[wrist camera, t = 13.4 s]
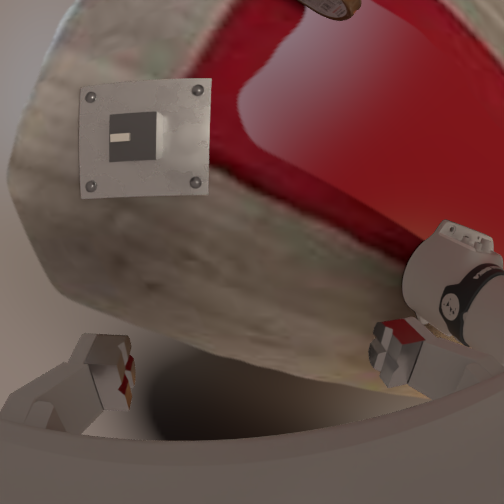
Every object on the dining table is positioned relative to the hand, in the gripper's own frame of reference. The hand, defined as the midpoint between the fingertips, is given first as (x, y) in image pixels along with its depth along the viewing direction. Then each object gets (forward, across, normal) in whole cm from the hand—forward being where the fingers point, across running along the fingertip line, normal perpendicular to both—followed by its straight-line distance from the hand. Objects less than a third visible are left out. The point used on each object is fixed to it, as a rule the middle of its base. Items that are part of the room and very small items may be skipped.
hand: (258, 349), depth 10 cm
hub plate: (+31, +9, -7) cm, 33 cm away
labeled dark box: (+30, +9, -7) cm, 32 cm away
